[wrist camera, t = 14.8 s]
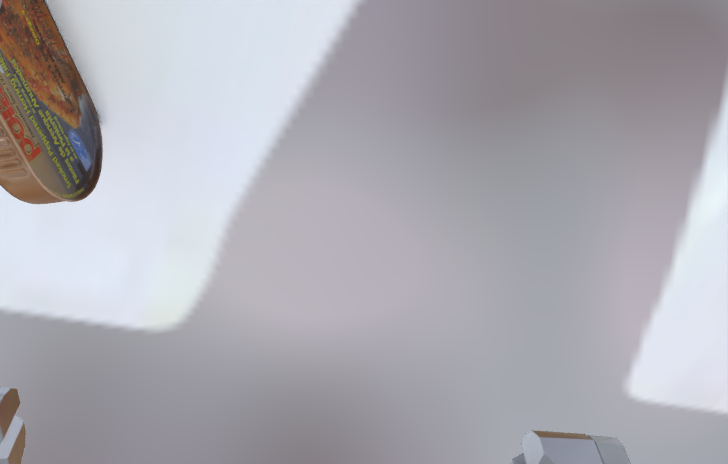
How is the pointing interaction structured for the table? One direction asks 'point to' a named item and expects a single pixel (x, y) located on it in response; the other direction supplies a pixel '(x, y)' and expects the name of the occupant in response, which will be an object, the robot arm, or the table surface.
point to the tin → (43, 111)
